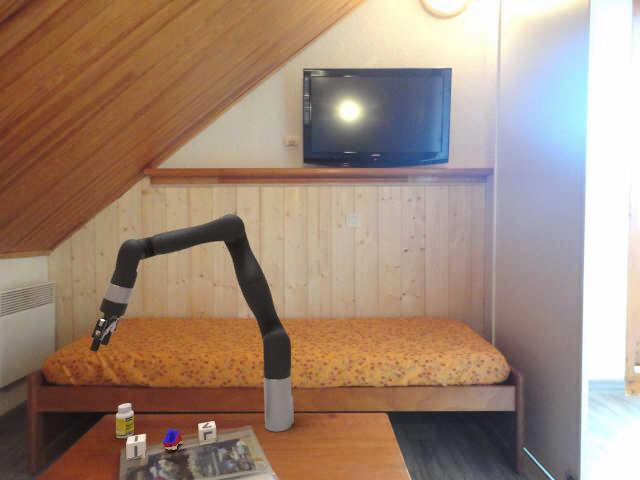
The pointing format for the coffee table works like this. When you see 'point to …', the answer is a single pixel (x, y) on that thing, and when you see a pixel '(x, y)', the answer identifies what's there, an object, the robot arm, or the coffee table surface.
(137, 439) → the cream block marked 1
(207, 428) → the cream block marked 7
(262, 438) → the coffee table surface
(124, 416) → the supplement bottle
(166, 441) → the toy car
